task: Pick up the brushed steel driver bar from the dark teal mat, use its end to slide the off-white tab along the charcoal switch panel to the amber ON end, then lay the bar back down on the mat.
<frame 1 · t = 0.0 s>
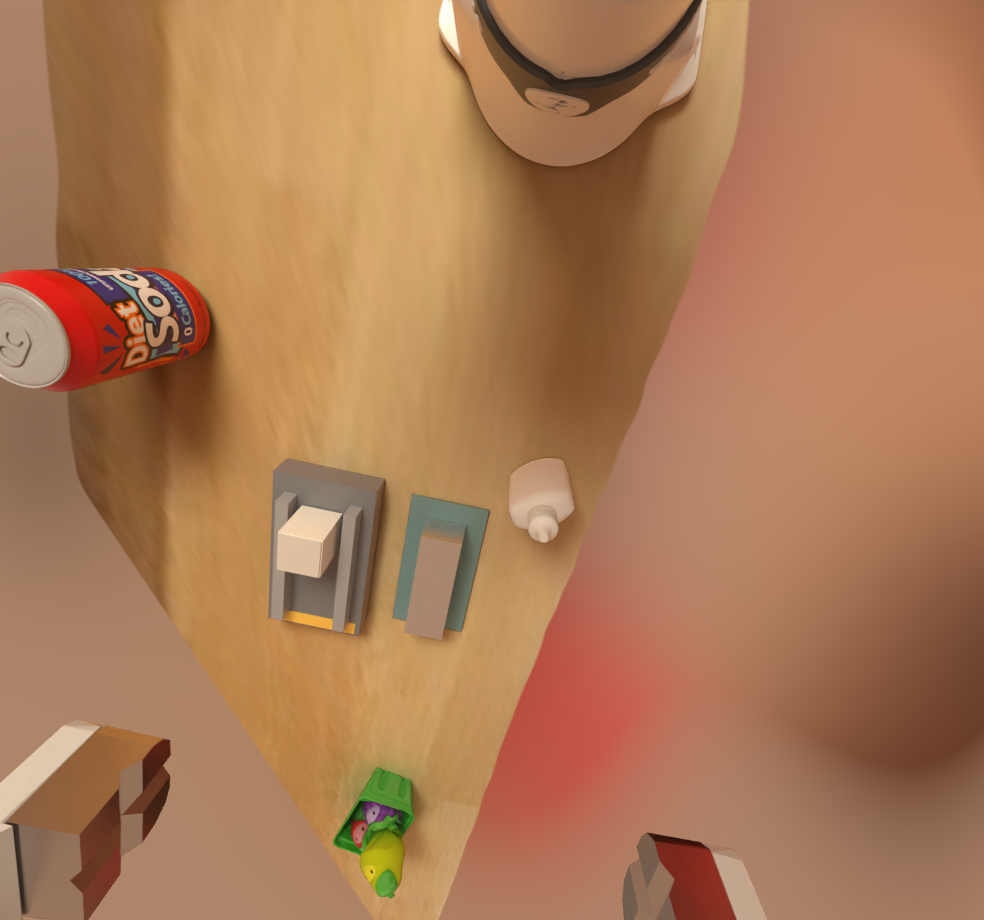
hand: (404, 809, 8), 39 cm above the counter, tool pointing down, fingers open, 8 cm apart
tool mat: (438, 566, 53), on the counter
fruit basket: (387, 791, 68), on the counter
soda can: (175, 313, 44), on the counter
driver bar: (438, 567, 53), resting on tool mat
eye dropper bottle: (538, 473, 48), on the counter
switch panel: (329, 543, 53), on the counter
switch tab: (310, 540, 46), point 6 cm above the counter, slide at 0.0 cm
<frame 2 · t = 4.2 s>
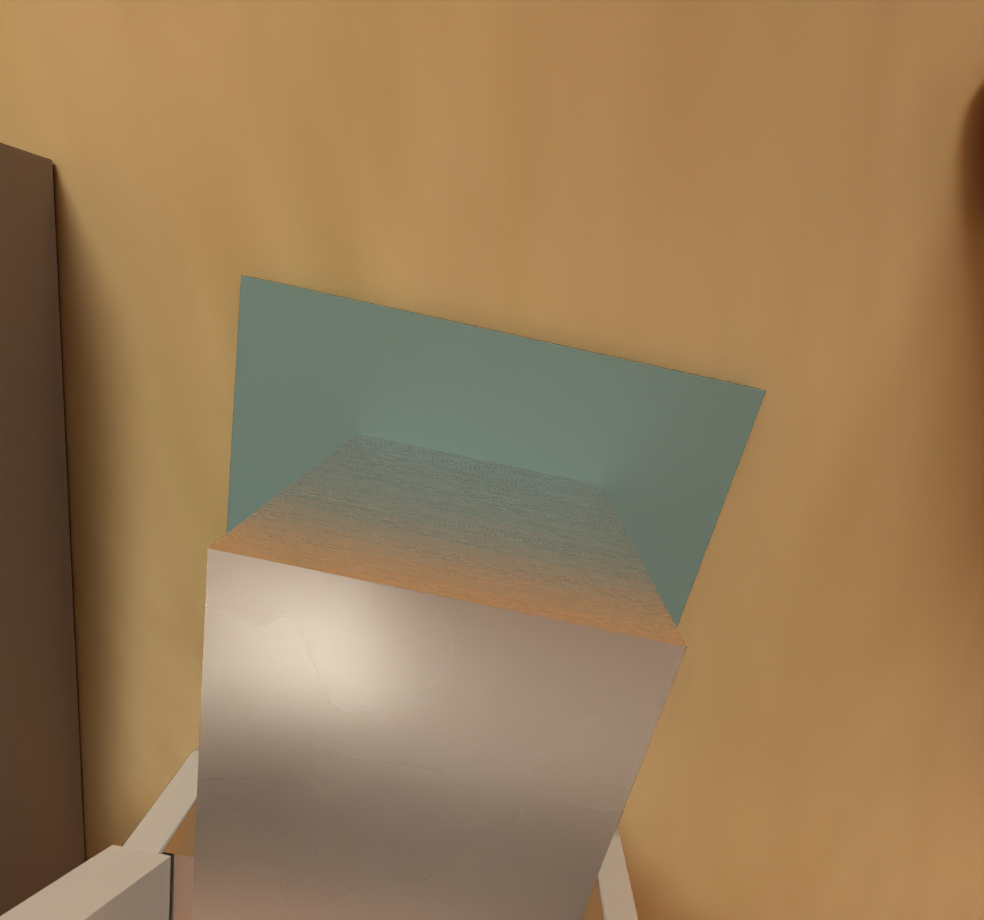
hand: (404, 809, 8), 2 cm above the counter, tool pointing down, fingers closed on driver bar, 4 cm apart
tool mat: (421, 733, 10), on the counter
driver bar: (418, 745, 10), resting on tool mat, touching gripper
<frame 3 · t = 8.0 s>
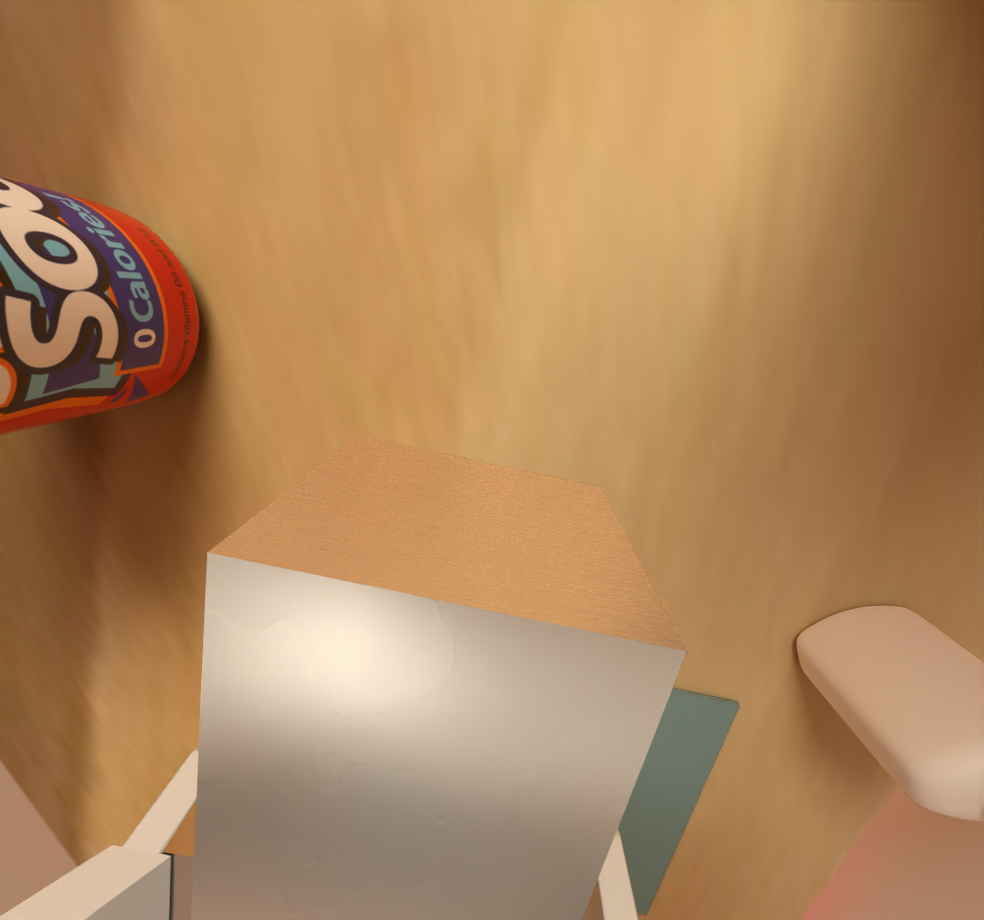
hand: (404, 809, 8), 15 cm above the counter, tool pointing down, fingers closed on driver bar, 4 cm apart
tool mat: (618, 800, 27), on the counter
soda can: (125, 309, 21), on the counter
driver bar: (418, 747, 10), point 14 cm above the counter, touching gripper
eye dropper bottle: (848, 634, 24), on the counter
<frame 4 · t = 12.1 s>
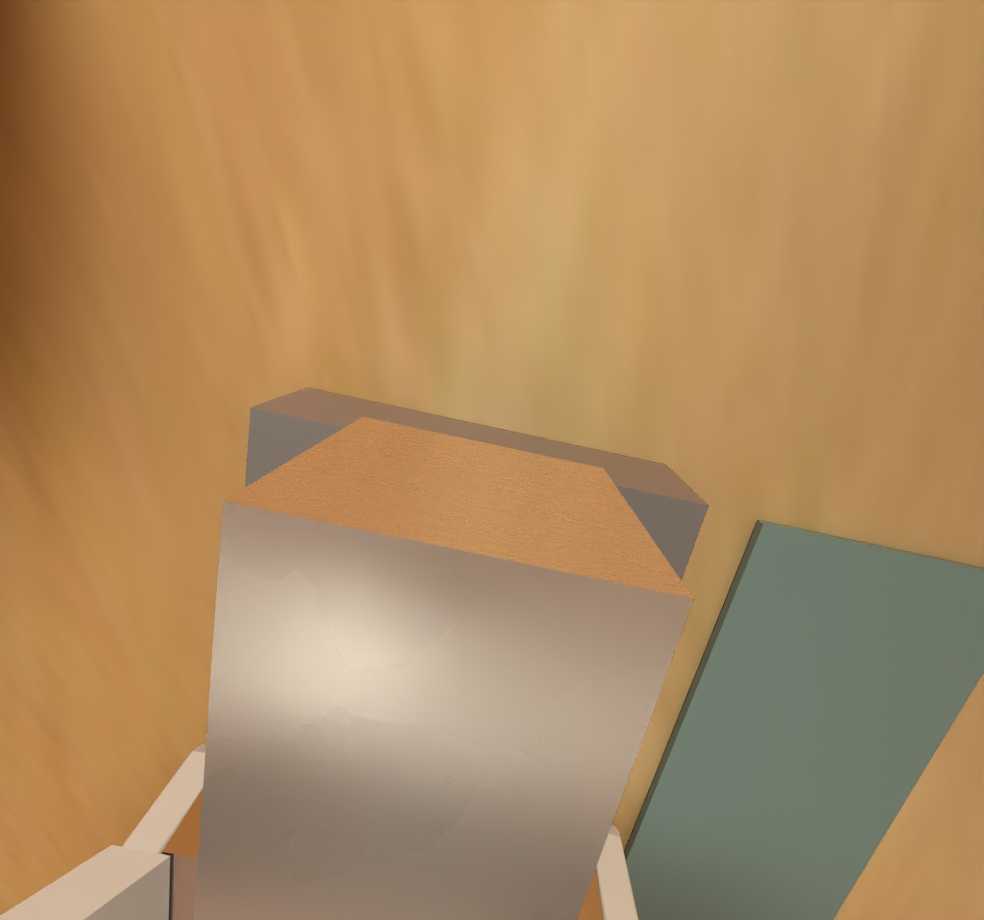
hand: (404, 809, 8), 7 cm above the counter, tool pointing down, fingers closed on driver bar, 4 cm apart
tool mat: (786, 762, 16), on the counter
driver bar: (421, 735, 9), point 5 cm above the counter, touching gripper, switch tab
switch panel: (431, 690, 16), on the counter
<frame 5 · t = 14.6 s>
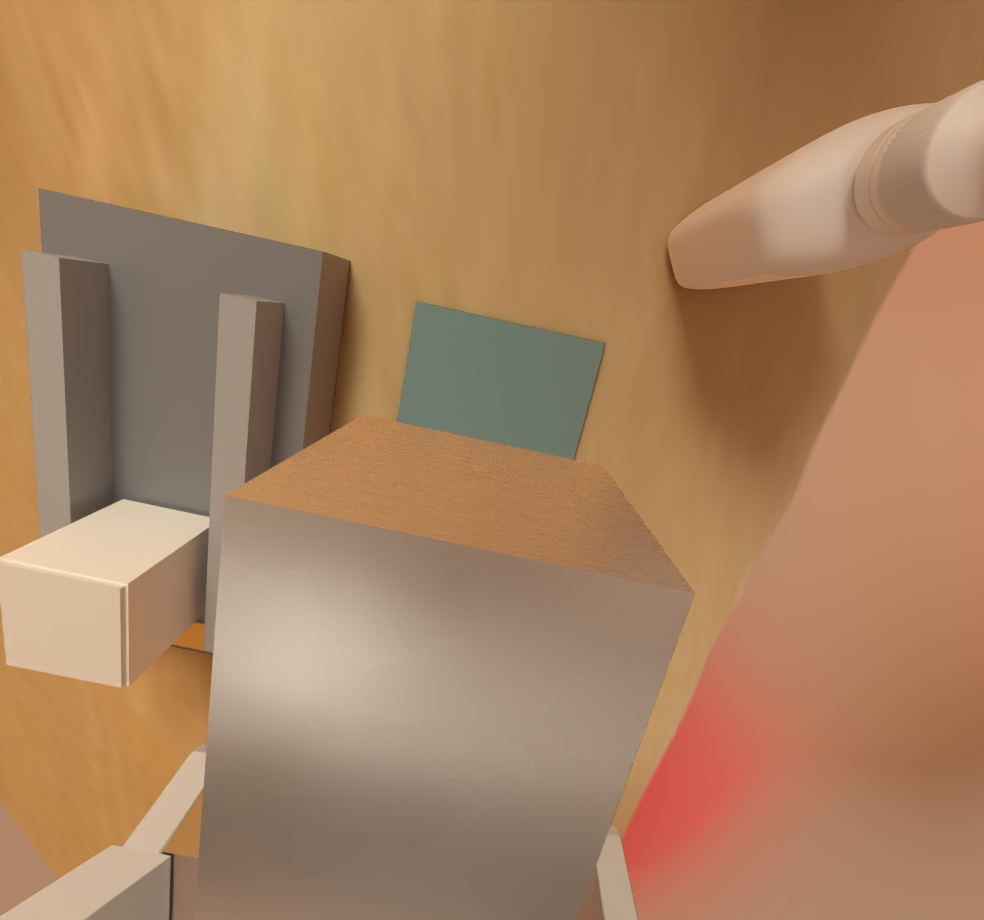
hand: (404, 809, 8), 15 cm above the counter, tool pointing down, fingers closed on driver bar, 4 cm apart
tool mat: (473, 496, 23), on the counter
driver bar: (421, 734, 9), point 14 cm above the counter, touching gripper
eye dropper bottle: (734, 238, 19), on the counter
switch panel: (219, 442, 22), on the counter
switch tab: (123, 584, 18), point 6 cm above the counter, slide at 8.0 cm
when the fingers open (3 cm above the counter, at t = 17.2 s): driver bar stays where it is, resting on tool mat.
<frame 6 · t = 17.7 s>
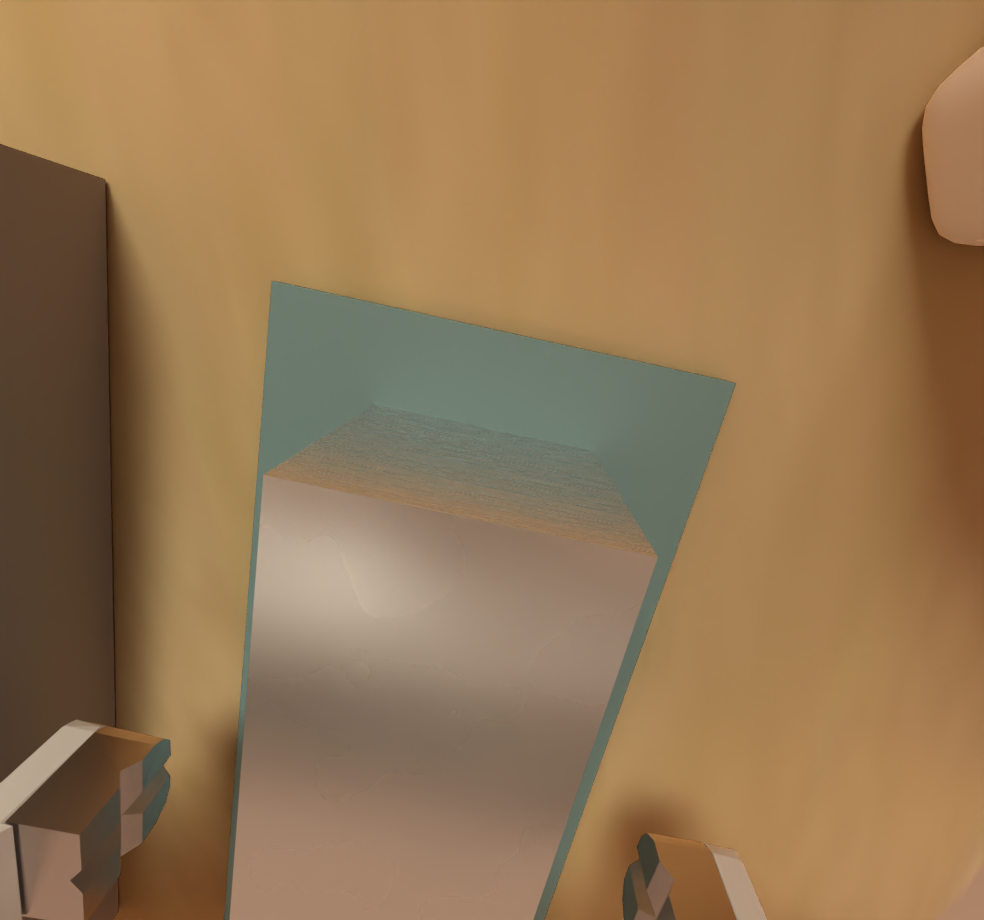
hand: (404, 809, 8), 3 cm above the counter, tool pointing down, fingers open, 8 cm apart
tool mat: (428, 697, 11), on the counter
driver bar: (427, 696, 10), resting on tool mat
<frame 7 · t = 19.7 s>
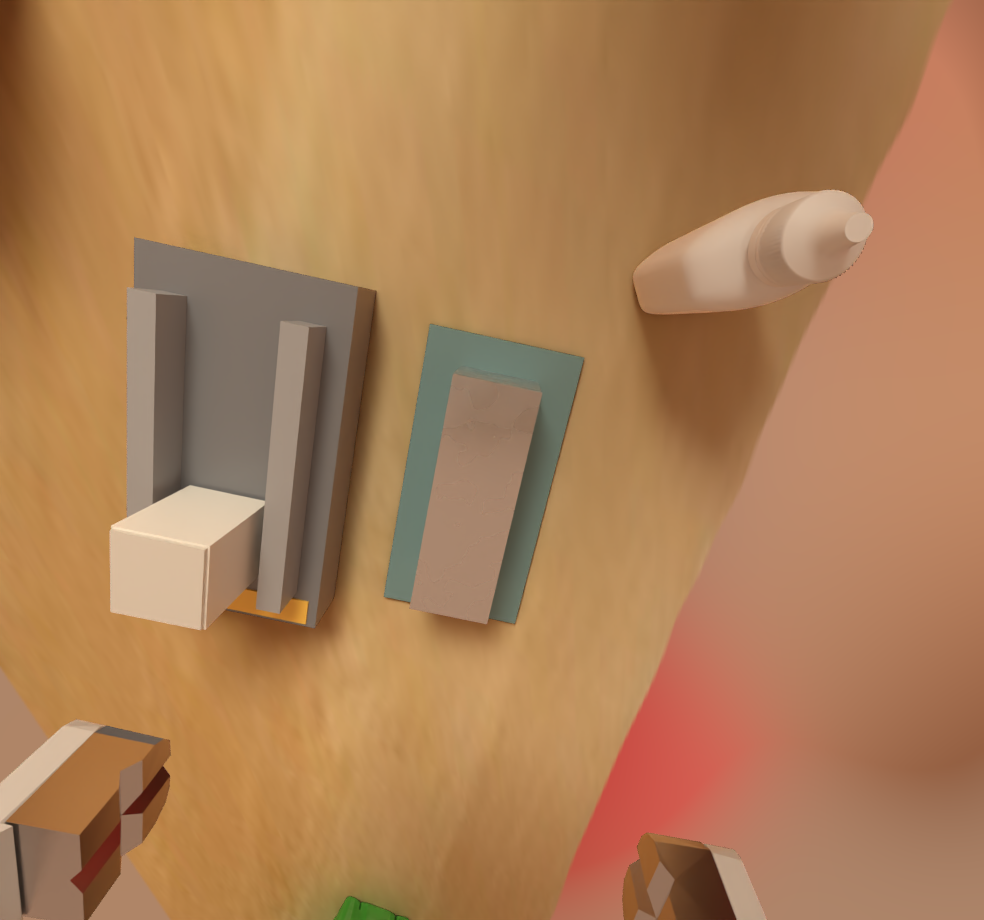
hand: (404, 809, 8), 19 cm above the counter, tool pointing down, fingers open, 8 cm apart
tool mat: (476, 484, 27), on the counter
driver bar: (476, 481, 27), resting on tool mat
eye dropper bottle: (688, 273, 24), on the counter
switch panel: (263, 439, 27), on the counter
switch tab: (195, 552, 22), point 6 cm above the counter, slide at 8.0 cm
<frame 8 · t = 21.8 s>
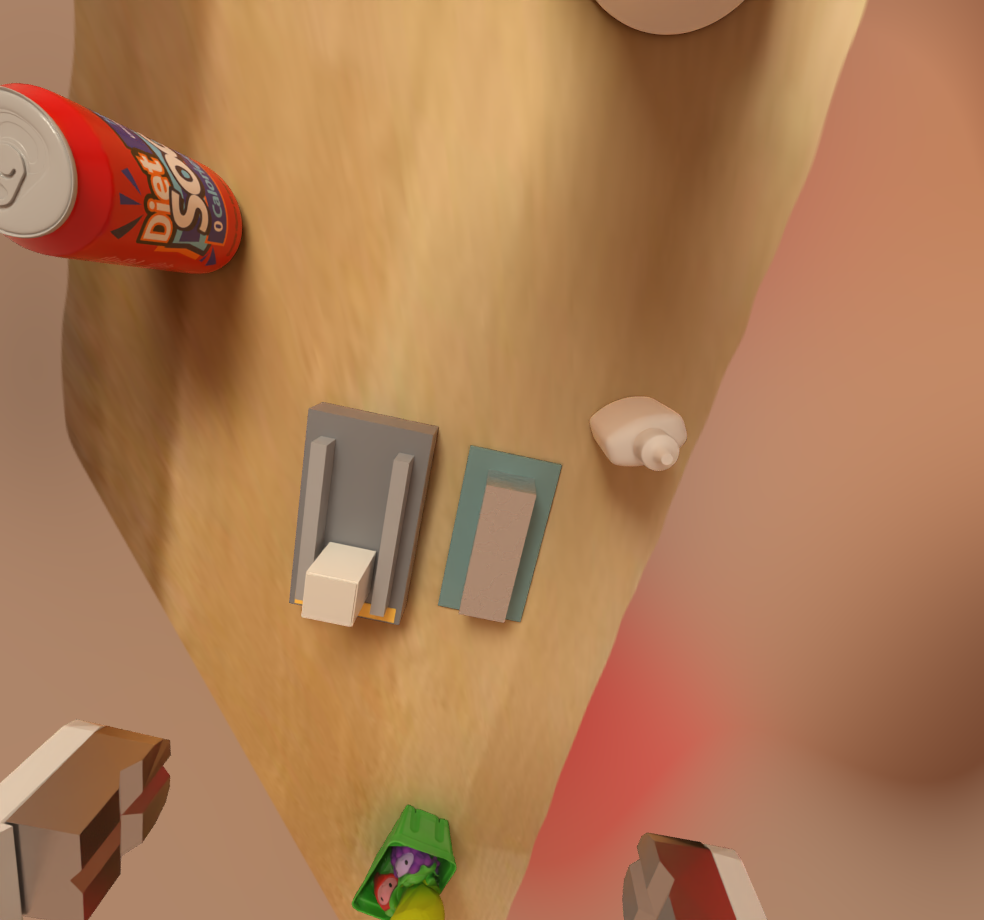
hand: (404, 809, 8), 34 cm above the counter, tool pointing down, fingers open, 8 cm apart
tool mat: (496, 537, 44), on the counter
fruit basket: (417, 837, 56), on the counter
soda can: (200, 221, 38), on the counter
driver bar: (497, 535, 44), resting on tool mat
eye dropper bottle: (622, 418, 41), on the counter
switch panel: (366, 510, 44), on the counter
switch tab: (340, 582, 39), point 6 cm above the counter, slide at 8.0 cm
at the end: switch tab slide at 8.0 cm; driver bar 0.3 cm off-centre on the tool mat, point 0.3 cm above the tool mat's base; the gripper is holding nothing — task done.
